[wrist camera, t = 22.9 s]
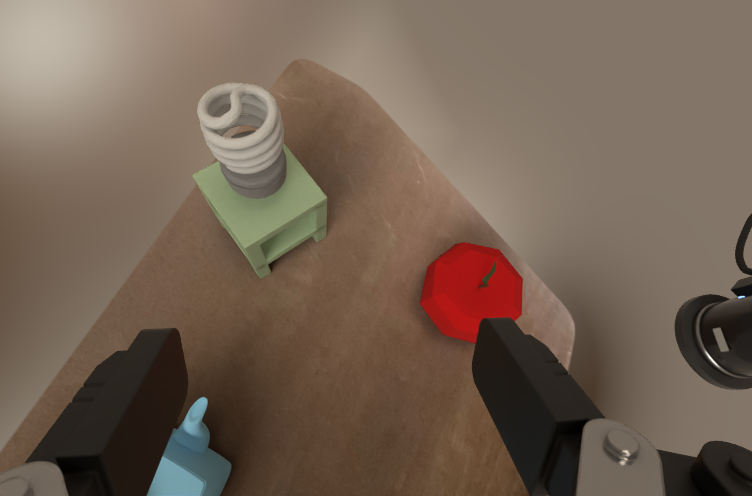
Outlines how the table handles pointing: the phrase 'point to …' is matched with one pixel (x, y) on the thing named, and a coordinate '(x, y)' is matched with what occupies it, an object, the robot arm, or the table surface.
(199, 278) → the table surface
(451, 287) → the apple
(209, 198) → the green side table
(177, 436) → the teapot
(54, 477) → the robot arm
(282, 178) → the light bulb
